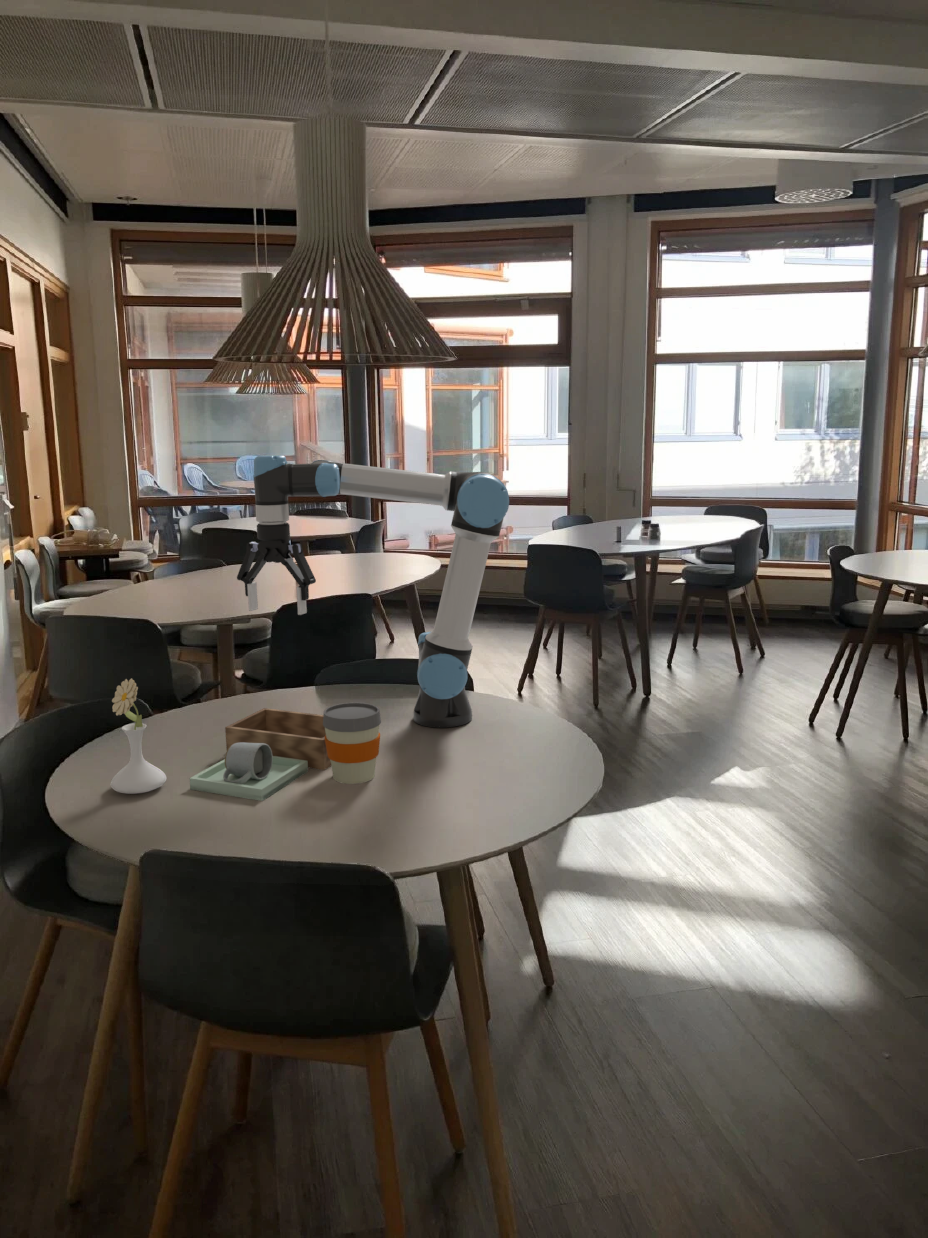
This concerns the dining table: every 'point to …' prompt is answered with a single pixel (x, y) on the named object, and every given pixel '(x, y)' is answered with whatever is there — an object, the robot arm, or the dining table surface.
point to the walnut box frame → (284, 735)
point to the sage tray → (253, 788)
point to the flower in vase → (134, 747)
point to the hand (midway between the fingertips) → (277, 611)
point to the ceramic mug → (248, 761)
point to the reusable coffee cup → (352, 741)
